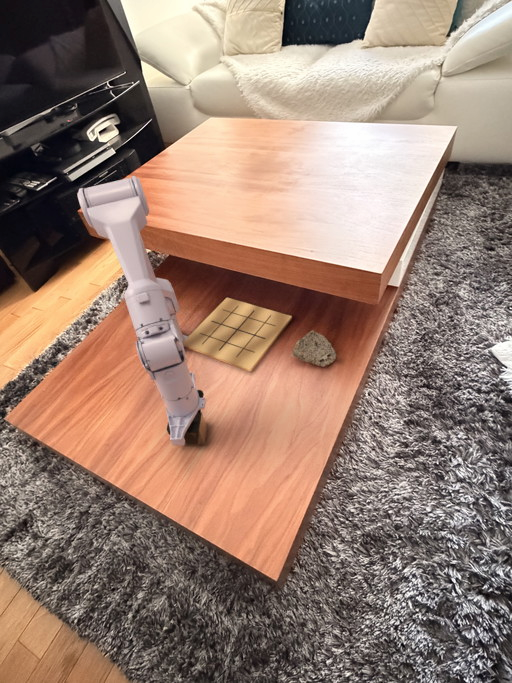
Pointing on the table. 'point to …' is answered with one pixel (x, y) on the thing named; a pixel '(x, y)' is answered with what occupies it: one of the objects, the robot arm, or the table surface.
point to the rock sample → (314, 349)
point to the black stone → (200, 429)
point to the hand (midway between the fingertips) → (194, 432)
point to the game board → (237, 333)
